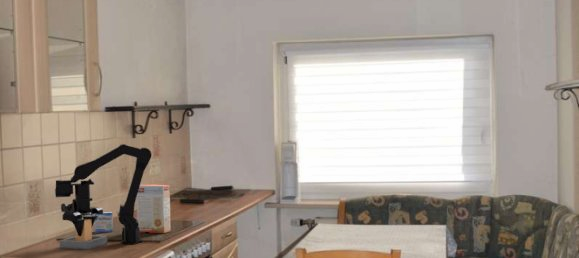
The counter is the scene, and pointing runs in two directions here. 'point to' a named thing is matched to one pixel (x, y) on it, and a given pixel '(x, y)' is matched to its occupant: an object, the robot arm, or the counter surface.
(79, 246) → the block holder
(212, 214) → the counter surface
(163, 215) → the cracker box
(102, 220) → the medicine box
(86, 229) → the plain tan block
